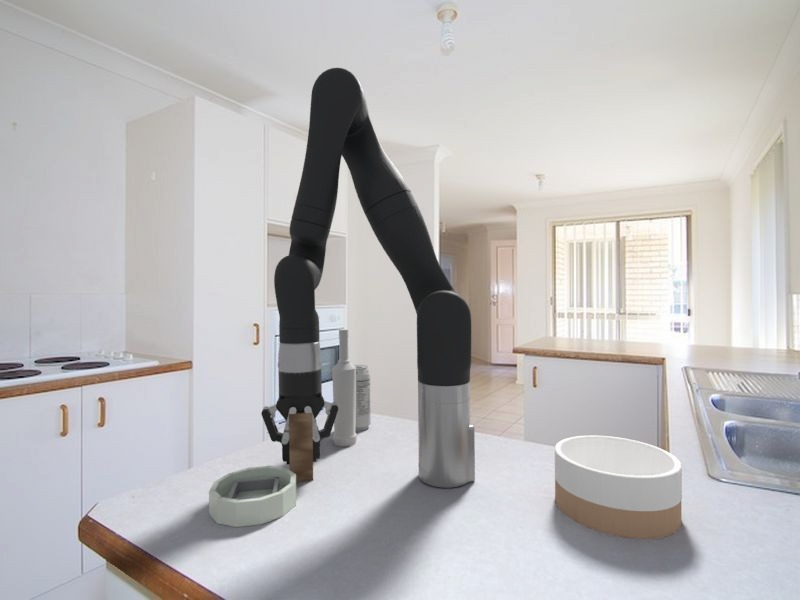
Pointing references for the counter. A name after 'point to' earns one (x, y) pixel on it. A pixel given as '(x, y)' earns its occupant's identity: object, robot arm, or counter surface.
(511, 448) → the counter surface
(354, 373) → the bottle
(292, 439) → the brown wooden block
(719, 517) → the counter surface
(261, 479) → the pale green faceted dish
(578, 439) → the bowl
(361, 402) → the energy drink can
